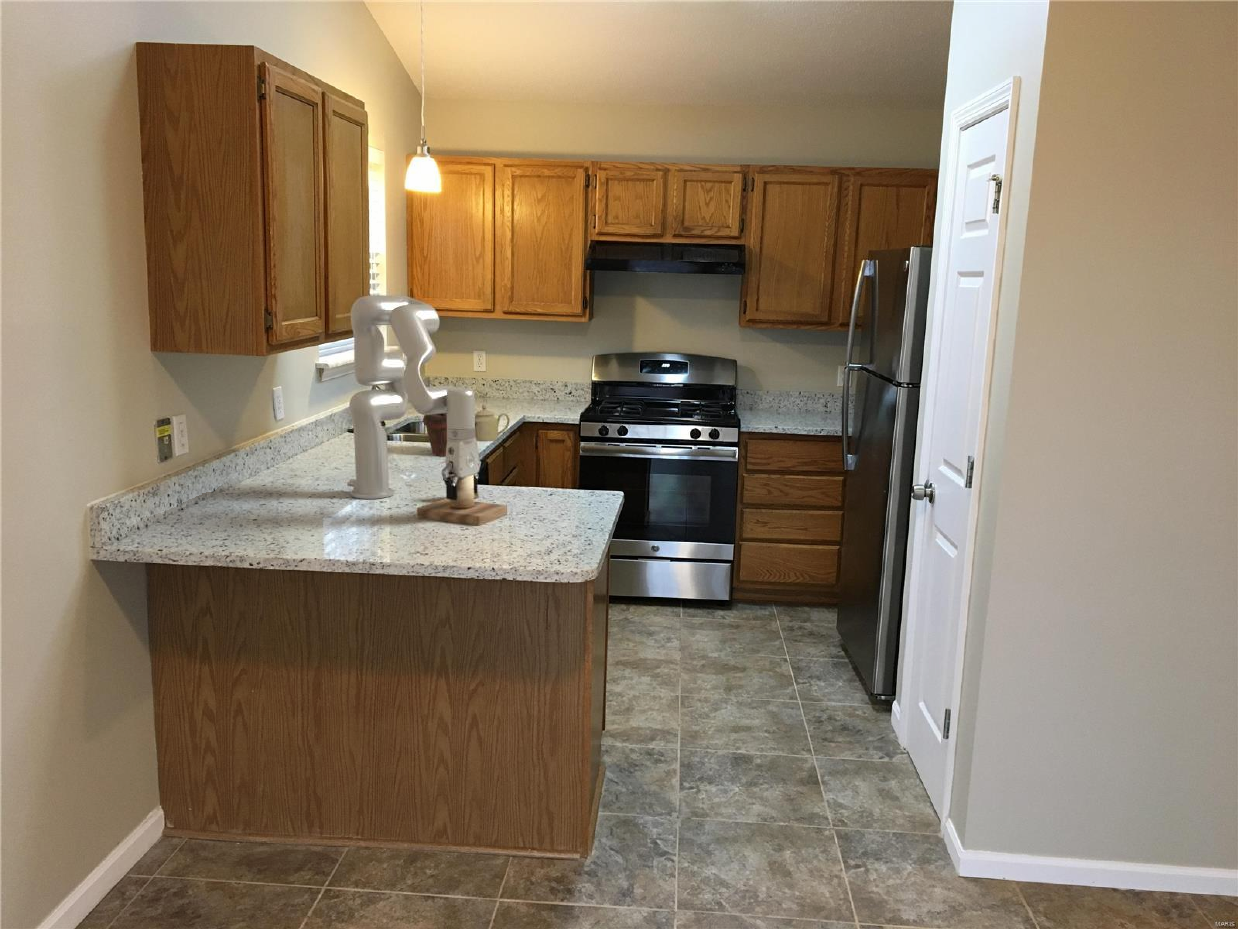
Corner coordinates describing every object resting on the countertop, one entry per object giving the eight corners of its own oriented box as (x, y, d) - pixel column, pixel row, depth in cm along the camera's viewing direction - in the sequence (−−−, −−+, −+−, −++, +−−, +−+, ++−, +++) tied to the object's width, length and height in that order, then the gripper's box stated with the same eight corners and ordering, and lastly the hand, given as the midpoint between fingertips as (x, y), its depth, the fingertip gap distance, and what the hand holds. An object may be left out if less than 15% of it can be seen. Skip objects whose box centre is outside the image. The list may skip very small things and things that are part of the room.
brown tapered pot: (479, 456, 349) (478, 408, 346) (425, 459, 344) (423, 410, 341) (474, 449, 366) (473, 404, 363) (422, 451, 361) (420, 405, 358)
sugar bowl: (497, 435, 401) (497, 401, 398) (511, 439, 392) (510, 403, 390) (466, 438, 392) (466, 403, 390) (479, 442, 384) (479, 405, 381)
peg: (446, 517, 256) (445, 475, 253) (459, 512, 261) (458, 472, 259) (465, 519, 253) (464, 478, 251) (478, 514, 259) (478, 474, 257)
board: (417, 517, 255) (417, 508, 254) (447, 507, 267) (446, 498, 267) (479, 525, 247) (479, 516, 246) (507, 514, 259) (507, 505, 259)
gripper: (454, 439, 244) (455, 503, 247) (490, 431, 259) (490, 491, 262) (430, 437, 247) (432, 500, 250) (467, 429, 262) (468, 489, 265)
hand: (462, 496), depth 256 cm, fingers open, 9 cm apart
